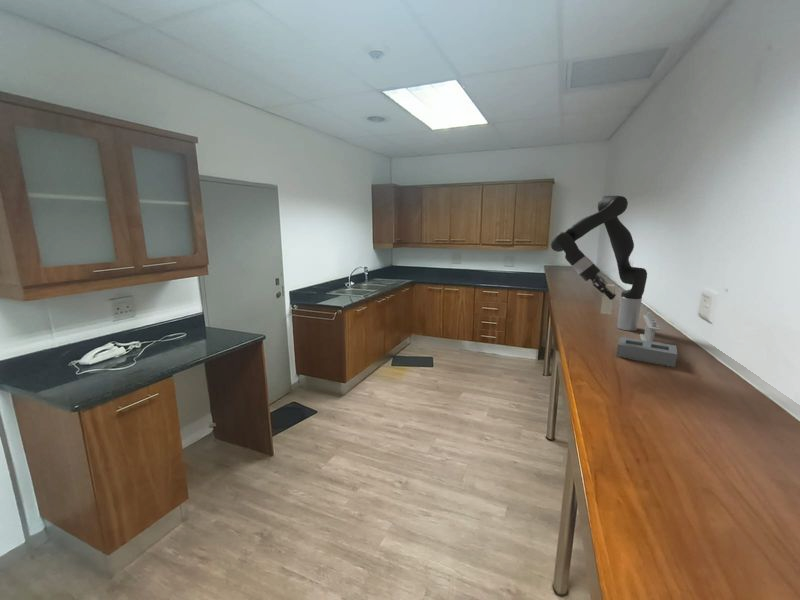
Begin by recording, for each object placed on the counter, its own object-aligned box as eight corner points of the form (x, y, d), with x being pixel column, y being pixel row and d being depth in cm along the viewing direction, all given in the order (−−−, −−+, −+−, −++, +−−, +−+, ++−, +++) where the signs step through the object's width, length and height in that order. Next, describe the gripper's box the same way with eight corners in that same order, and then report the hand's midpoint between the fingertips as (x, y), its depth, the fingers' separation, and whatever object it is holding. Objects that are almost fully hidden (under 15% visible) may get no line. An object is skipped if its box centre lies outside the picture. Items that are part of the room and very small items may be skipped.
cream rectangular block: (601, 311, 159) (604, 284, 156) (611, 313, 156) (615, 284, 153) (600, 313, 156) (604, 285, 153) (610, 314, 154) (614, 285, 151)
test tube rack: (657, 353, 153) (661, 324, 150) (644, 351, 155) (649, 323, 152) (650, 336, 174) (654, 311, 171) (639, 335, 176) (643, 310, 173)
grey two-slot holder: (619, 348, 158) (620, 336, 157) (674, 357, 147) (676, 345, 146) (616, 356, 149) (617, 344, 148) (674, 367, 137) (677, 354, 136)
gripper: (590, 264, 150) (619, 295, 146) (595, 261, 161) (622, 290, 157) (575, 275, 155) (603, 305, 150) (581, 271, 166) (607, 299, 161)
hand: (613, 297), depth 154 cm, fingers closed on cream rectangular block, 3 cm apart
